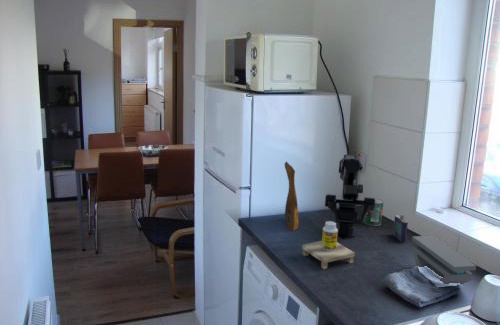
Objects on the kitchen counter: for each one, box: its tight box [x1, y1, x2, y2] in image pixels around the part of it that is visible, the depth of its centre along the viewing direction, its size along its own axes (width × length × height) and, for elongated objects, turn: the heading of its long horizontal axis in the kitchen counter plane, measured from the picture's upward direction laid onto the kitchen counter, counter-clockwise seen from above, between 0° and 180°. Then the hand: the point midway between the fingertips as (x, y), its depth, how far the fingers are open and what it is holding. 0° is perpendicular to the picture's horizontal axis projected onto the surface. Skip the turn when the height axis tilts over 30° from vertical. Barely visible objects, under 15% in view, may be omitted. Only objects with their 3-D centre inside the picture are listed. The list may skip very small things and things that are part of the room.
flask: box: [392, 214, 409, 243], centre depth 192 cm, size 9×3×11 cm, turn 8°
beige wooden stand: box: [301, 240, 356, 270], centre depth 171 cm, size 14×14×4 cm
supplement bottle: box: [321, 220, 338, 251], centre depth 169 cm, size 6×6×10 cm
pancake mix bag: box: [284, 161, 299, 232], centre depth 202 cm, size 7×19×28 cm, turn 179°
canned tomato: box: [363, 197, 384, 227], centre depth 209 cm, size 8×8×11 cm
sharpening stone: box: [411, 235, 477, 286], centre depth 157 cm, size 25×8×11 cm, turn 11°
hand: (349, 222), depth 171 cm, fingers open, 9 cm apart
